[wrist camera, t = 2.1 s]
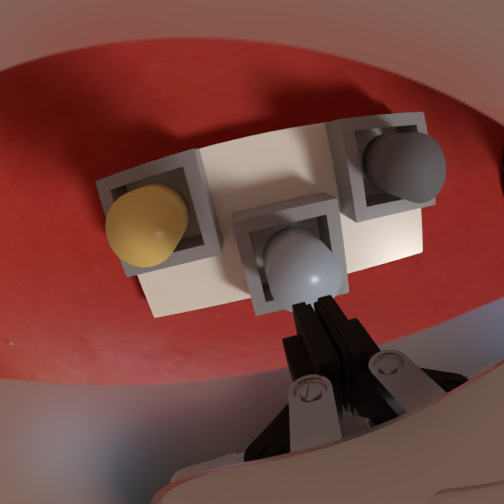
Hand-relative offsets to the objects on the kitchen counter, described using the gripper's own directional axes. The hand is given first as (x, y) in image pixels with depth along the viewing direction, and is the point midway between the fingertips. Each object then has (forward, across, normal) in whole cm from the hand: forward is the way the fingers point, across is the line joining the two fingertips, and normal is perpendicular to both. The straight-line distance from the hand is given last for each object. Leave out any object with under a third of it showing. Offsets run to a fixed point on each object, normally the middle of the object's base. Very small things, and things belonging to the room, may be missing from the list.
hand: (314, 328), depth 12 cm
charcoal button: (+8, -9, -5) cm, 13 cm away
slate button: (+9, -1, 0) cm, 9 cm away
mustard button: (+9, +7, -5) cm, 12 cm away
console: (+13, -1, -2) cm, 13 cm away
